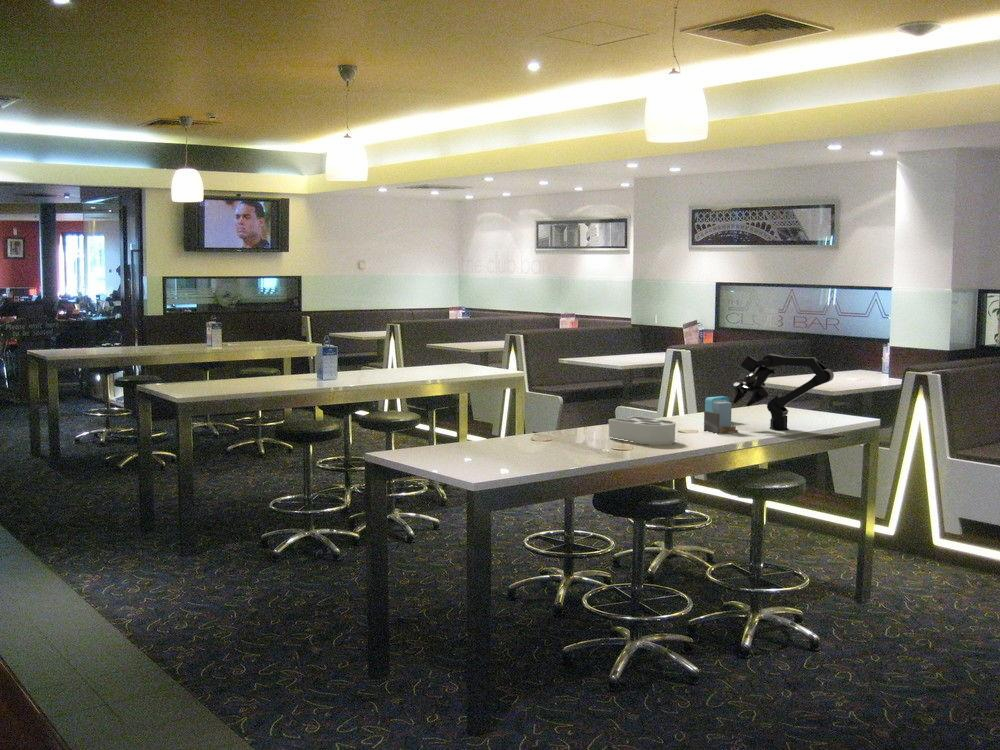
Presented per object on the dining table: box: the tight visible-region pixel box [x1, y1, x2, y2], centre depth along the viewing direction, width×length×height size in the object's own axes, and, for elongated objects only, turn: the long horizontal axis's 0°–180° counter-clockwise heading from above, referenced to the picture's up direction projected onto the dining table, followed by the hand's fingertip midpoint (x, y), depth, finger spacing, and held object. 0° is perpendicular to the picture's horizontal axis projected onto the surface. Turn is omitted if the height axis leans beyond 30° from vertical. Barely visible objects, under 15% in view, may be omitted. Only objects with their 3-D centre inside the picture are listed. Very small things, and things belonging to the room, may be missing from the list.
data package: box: [704, 395, 730, 412], centre depth 482 cm, size 12×4×12 cm, turn 125°
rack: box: [703, 410, 739, 435], centre depth 452 cm, size 11×10×9 cm
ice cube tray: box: [608, 415, 676, 446], centre depth 430 cm, size 17×28×9 cm, turn 39°
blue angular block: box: [713, 401, 733, 428], centre depth 452 cm, size 7×4×12 cm, turn 114°
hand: (740, 404), depth 456 cm, fingers open, 9 cm apart
